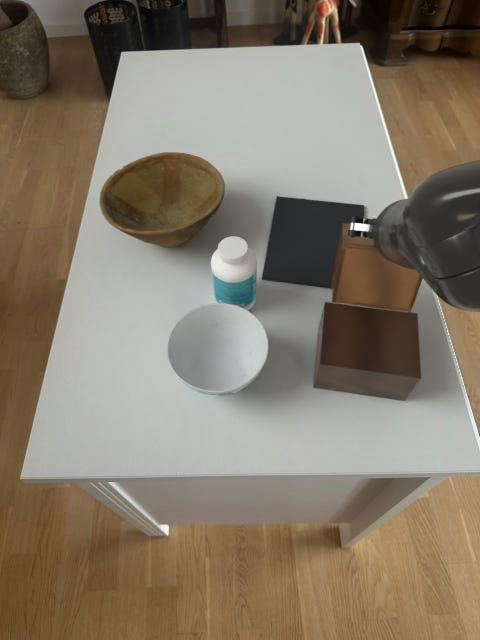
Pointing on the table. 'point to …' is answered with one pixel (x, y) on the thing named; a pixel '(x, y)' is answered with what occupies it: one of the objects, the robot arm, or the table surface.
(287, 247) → the mat
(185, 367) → the chinaware
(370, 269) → the wooden box
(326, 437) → the table surface
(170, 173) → the bowl
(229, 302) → the pill bottle
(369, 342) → the stand
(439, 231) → the robot arm
